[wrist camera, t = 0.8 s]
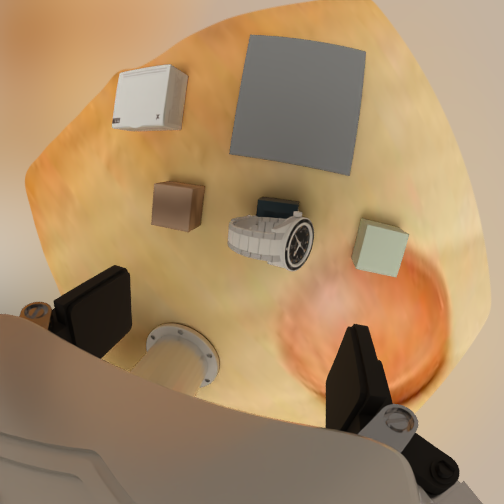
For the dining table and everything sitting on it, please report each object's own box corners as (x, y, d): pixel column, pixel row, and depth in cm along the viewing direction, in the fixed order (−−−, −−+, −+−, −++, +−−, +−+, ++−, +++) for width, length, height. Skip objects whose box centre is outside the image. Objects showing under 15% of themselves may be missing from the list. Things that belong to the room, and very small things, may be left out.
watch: (309, 249, 34) (308, 285, 23) (243, 239, 35) (215, 270, 24) (315, 203, 32) (319, 219, 21) (248, 194, 33) (219, 206, 23)
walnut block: (200, 225, 36) (188, 232, 32) (166, 218, 36) (151, 224, 32) (205, 186, 34) (192, 188, 30) (170, 181, 35) (154, 183, 31)
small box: (189, 74, 30) (172, 63, 25) (182, 131, 32) (163, 126, 28) (139, 80, 31) (118, 71, 26) (132, 132, 34) (110, 129, 29)
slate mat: (348, 175, 30) (349, 176, 30) (230, 154, 32) (229, 154, 31) (365, 53, 25) (365, 51, 24) (251, 36, 27) (250, 34, 26)
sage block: (387, 265, 32) (396, 277, 28) (351, 257, 33) (356, 268, 29) (398, 227, 31) (409, 234, 27) (361, 217, 31) (367, 224, 28)
